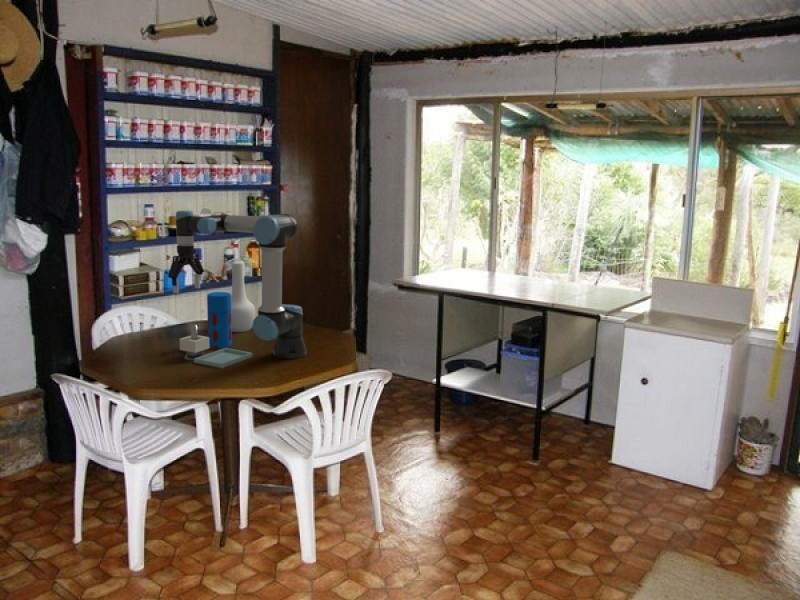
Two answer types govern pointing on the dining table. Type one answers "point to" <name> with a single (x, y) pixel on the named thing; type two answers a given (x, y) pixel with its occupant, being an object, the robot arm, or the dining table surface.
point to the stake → (193, 337)
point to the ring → (194, 344)
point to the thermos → (219, 320)
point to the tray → (223, 358)
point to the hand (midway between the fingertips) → (187, 290)
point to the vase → (240, 301)
